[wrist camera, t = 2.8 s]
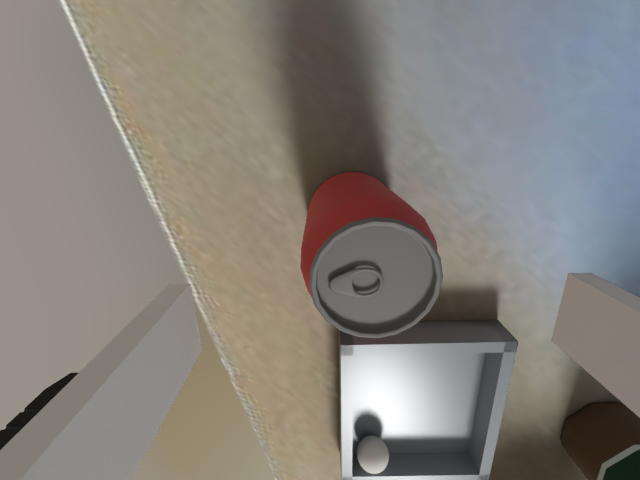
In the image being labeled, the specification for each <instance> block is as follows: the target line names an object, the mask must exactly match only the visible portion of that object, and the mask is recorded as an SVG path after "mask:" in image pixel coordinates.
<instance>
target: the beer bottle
mask: <svg viewBox="0 0 640 480" xmlns="http://www.w3.org/2000/svg"><path fill="white" fill-rule="evenodd" d="M561 442H562V445H563V446H564V447H565V449H566V450H567V452H568V453H569V455H570V456H571V457H572V459H573V460H574V462H575V463H576V464H577V466H578V467H579V468H580V469H581V471H582V472H583V473H584V475H585V476H586V477H587V479H588V480H640V418H639V417H638V416H637V415H636V414H635V413H634V412H632V411H631V410H630V409H629V408H628V407H627V406H626V405H624V404H623V403H620V402H608V403H590V404H588V405H587V406H585V407H584V408H582V409H581V410H579V411H578V412H576V413H575V414H573V415H572V416H570V417H569V418H567V419H566V421H565V425H564V429H563V433H562V437H561Z"/></svg>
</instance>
